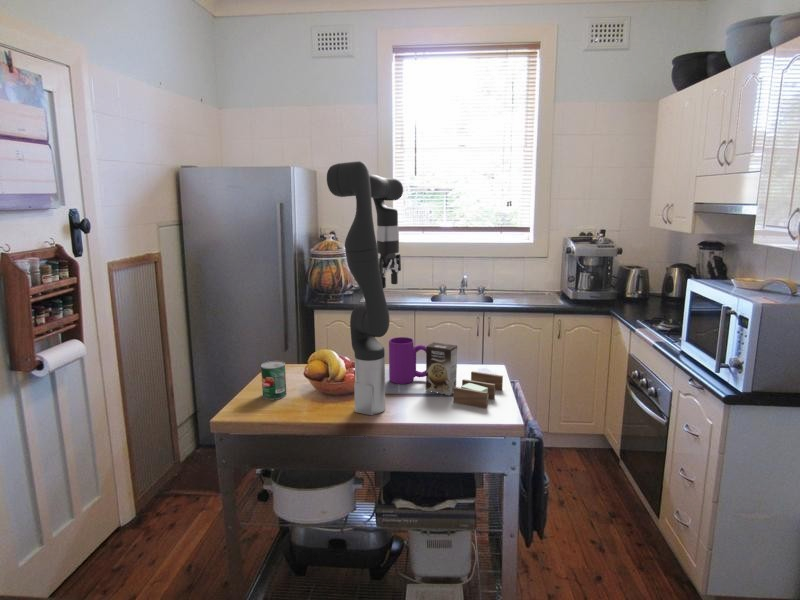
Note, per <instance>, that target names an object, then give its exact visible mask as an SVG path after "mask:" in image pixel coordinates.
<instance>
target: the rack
mask: <svg viewBox="0 0 800 600" xmlns="http://www.w3.org/2000/svg"><path fill="white" fill-rule="evenodd" d="M503 380H504V375H501V374H494V373H493V374H492V373H487V372H480V371H473V370H472V371H471V372H470V379H466V378H465V379H464V378H463V379H462V382H461V386H463V385H465V384H468V383H472V384H476V385H479V386H483V387H487V388H488V392H483V391H477V390H471V389H465V388H461V387H459V386H456V387H454V393H453V396H452V397H453V404H459V405H466V406H471V407H477V408H481V409H482V408H483V409H487V408H488V400H495V399H496V391H501V390H502V391H503V384H504V383H503V382H504V381H503ZM495 389H496V390H495ZM488 393H489V395H488Z"/></svg>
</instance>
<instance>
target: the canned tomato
mask: <svg viewBox="0 0 800 600" xmlns="http://www.w3.org/2000/svg"><path fill="white" fill-rule="evenodd" d="M260 373H261V375H260V376H261V389H262V398H263V399H264V398H265V400H267V399H270V400H269V401H273V400H274V399H276V400H280V398H281V399H283V398H285V397H286V396H287V378H286V362H285V361H281V360H271V361H265V362H262V363H261V365H260ZM274 401H275V400H274Z"/></svg>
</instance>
